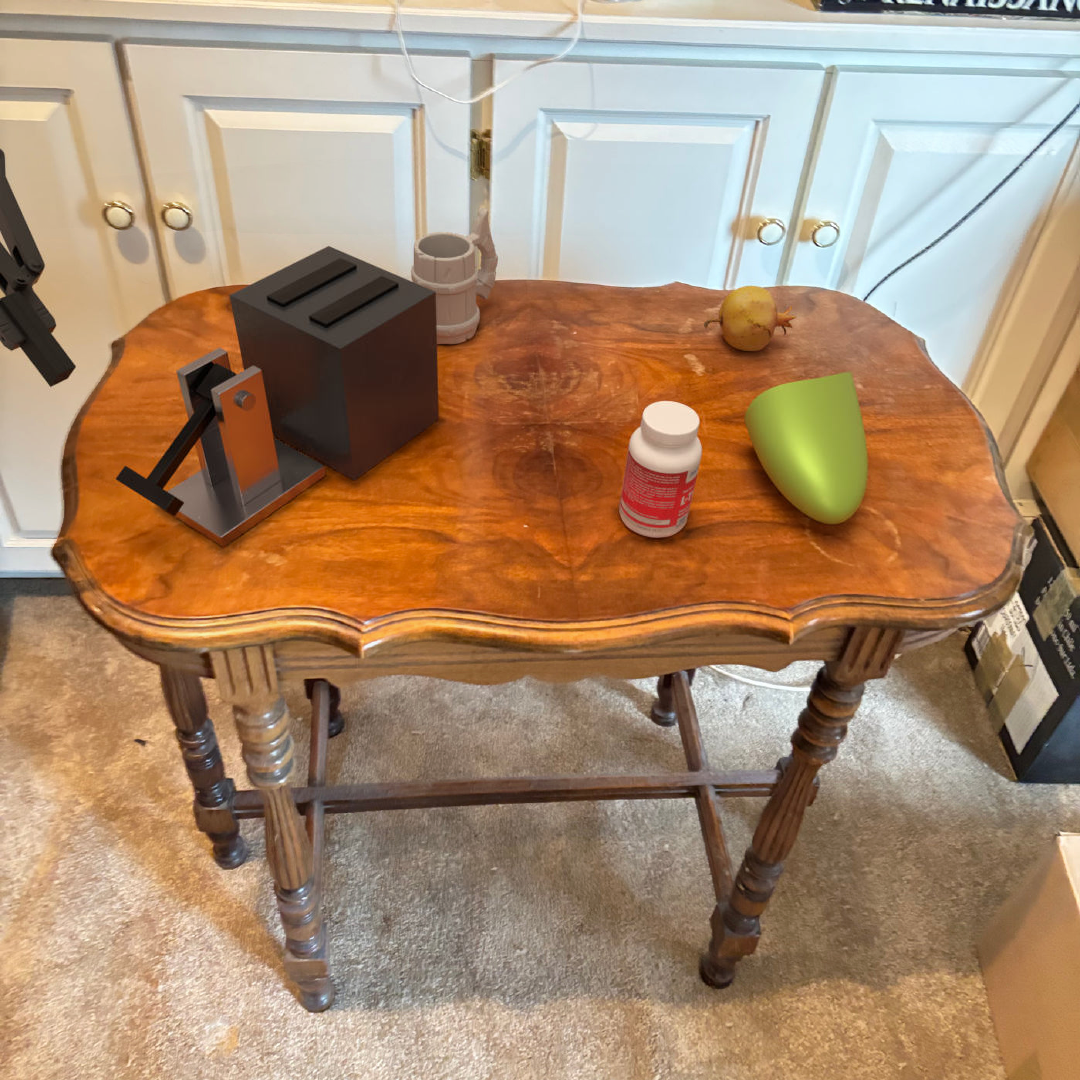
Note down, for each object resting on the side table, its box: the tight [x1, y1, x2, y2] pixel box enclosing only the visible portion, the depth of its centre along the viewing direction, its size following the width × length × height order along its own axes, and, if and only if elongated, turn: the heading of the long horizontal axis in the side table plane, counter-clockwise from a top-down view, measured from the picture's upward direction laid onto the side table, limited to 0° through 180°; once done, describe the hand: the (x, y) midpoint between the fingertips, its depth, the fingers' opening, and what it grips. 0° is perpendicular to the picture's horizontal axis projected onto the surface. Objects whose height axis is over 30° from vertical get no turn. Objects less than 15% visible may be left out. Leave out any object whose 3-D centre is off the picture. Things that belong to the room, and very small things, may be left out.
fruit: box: [703, 285, 797, 352], centre depth 104 cm, size 7×7×10 cm
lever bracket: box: [166, 347, 327, 548], centre depth 79 cm, size 12×8×13 cm, turn 145°
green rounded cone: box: [743, 371, 869, 525], centre depth 87 cm, size 8×12×20 cm
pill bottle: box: [618, 400, 703, 538], centre depth 80 cm, size 6×6×11 cm
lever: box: [115, 363, 238, 517], centre depth 75 cm, size 12×6×2 cm
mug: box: [410, 206, 499, 345], centre depth 102 cm, size 8×12×12 cm, turn 140°
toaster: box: [229, 245, 440, 482], centre depth 86 cm, size 12×13×14 cm
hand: (63, 376), depth 70 cm, fingers closed
